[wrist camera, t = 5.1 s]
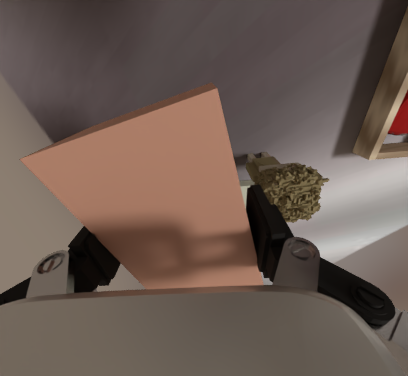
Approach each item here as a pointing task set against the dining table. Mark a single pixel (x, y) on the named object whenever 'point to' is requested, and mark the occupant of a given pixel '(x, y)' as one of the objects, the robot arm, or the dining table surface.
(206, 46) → the dining table surface
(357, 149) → the car corral
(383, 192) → the dining table surface
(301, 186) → the toy
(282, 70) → the dining table surface
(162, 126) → the brick
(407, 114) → the toy car
